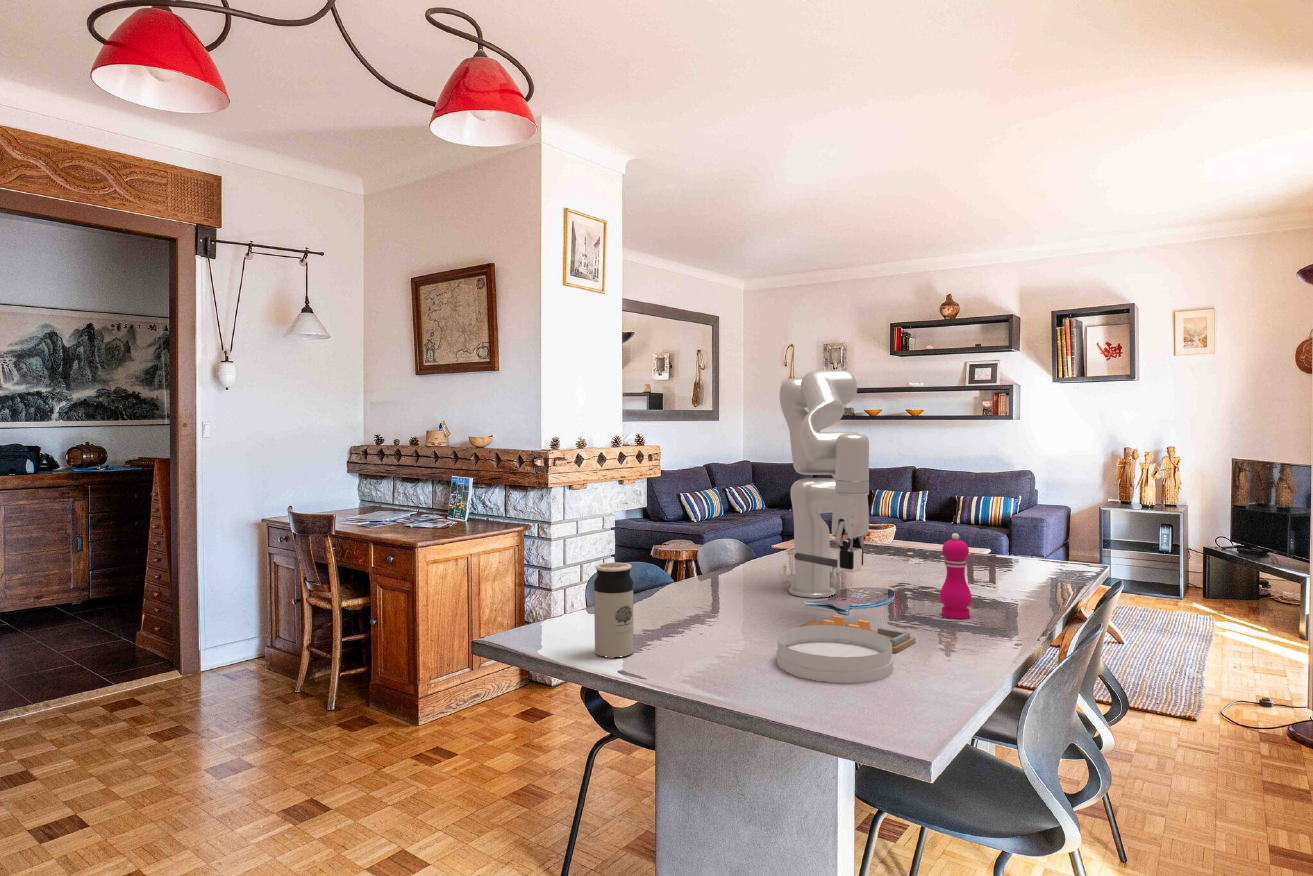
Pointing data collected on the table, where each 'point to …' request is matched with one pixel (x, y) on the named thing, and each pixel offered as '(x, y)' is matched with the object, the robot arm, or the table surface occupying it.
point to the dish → (835, 654)
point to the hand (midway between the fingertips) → (851, 565)
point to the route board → (894, 648)
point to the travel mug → (613, 610)
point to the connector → (833, 560)
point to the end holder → (894, 635)
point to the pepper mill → (955, 580)
